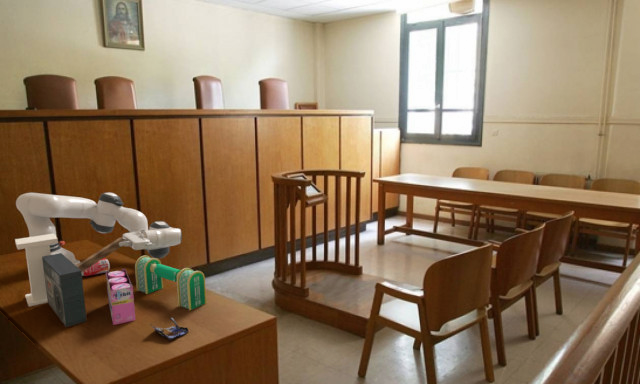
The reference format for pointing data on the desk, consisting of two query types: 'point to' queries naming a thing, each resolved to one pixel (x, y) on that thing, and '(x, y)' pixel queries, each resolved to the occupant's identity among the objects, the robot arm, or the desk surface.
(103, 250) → the brown block
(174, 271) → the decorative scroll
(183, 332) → the snack package
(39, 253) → the stand
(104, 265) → the soda can
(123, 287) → the gum box
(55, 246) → the robot arm
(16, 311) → the desk surface
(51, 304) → the cassette player
